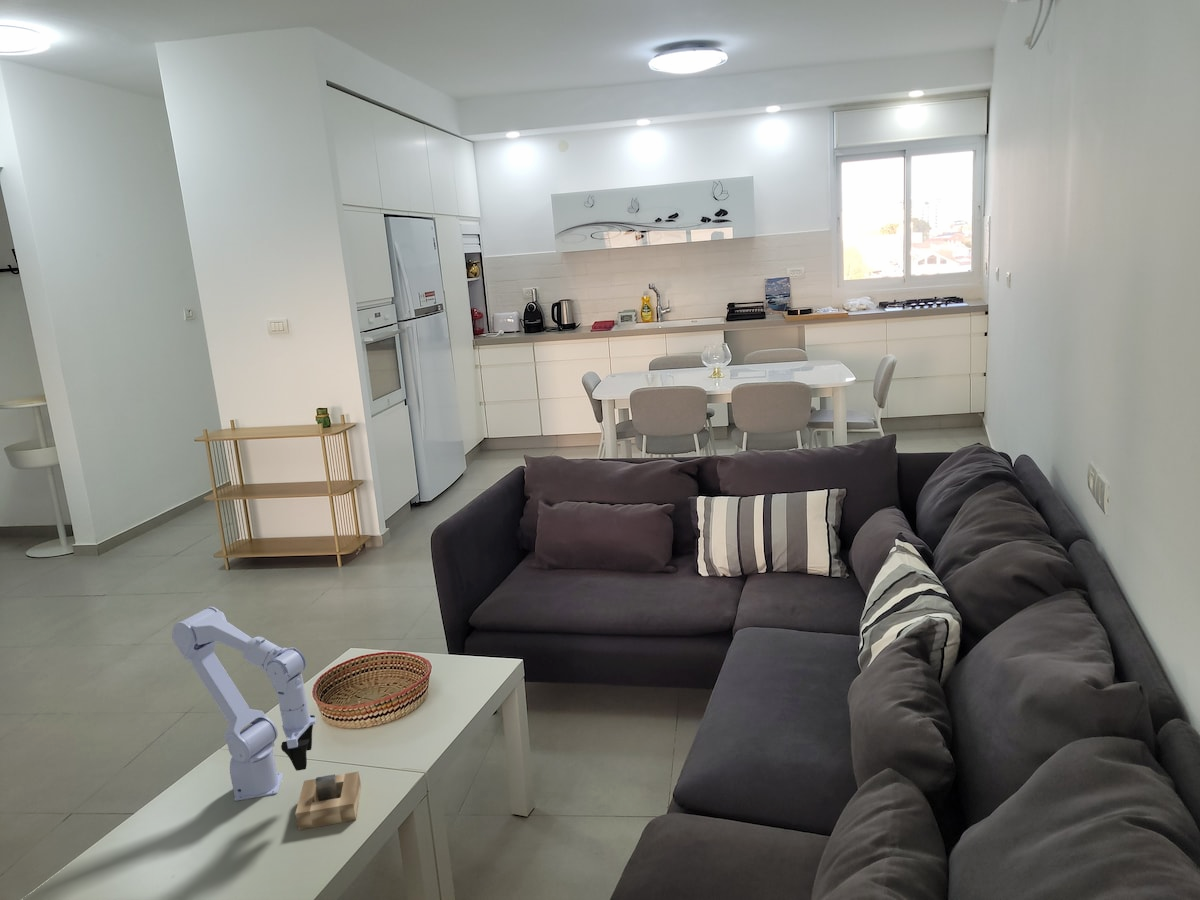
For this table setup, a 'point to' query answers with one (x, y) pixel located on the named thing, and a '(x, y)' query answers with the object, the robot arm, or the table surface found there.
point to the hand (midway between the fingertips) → (303, 759)
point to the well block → (329, 803)
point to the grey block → (327, 787)
